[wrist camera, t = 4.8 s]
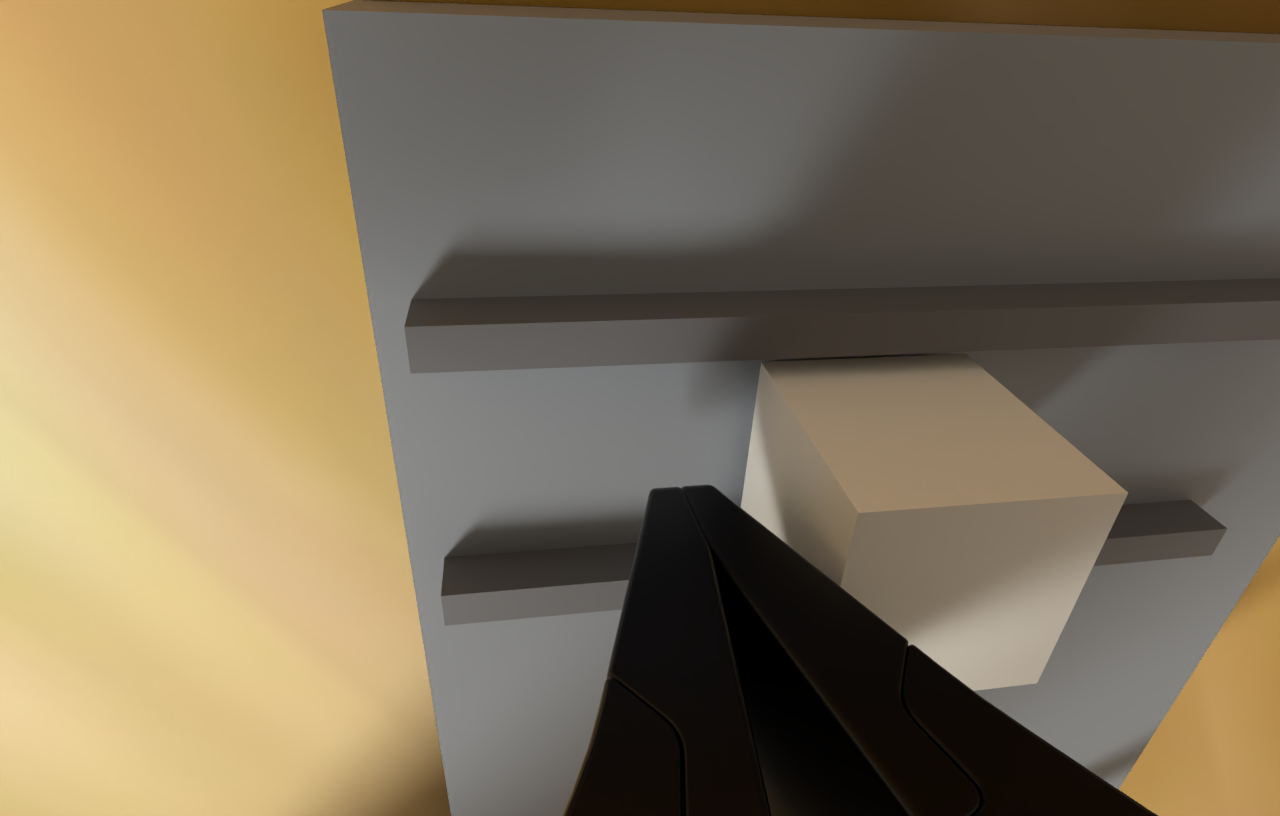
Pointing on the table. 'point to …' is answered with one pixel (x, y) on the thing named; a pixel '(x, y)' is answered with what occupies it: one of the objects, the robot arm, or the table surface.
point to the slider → (931, 504)
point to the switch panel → (799, 313)
